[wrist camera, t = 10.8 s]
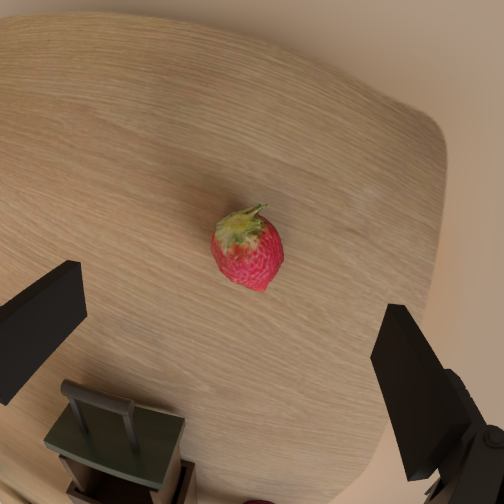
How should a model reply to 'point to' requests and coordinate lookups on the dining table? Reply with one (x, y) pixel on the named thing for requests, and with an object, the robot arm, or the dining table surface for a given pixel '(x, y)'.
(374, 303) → the dining table surface
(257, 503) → the cup
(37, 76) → the dining table surface
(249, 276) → the fruit
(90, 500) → the cabinet
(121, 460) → the drawer
